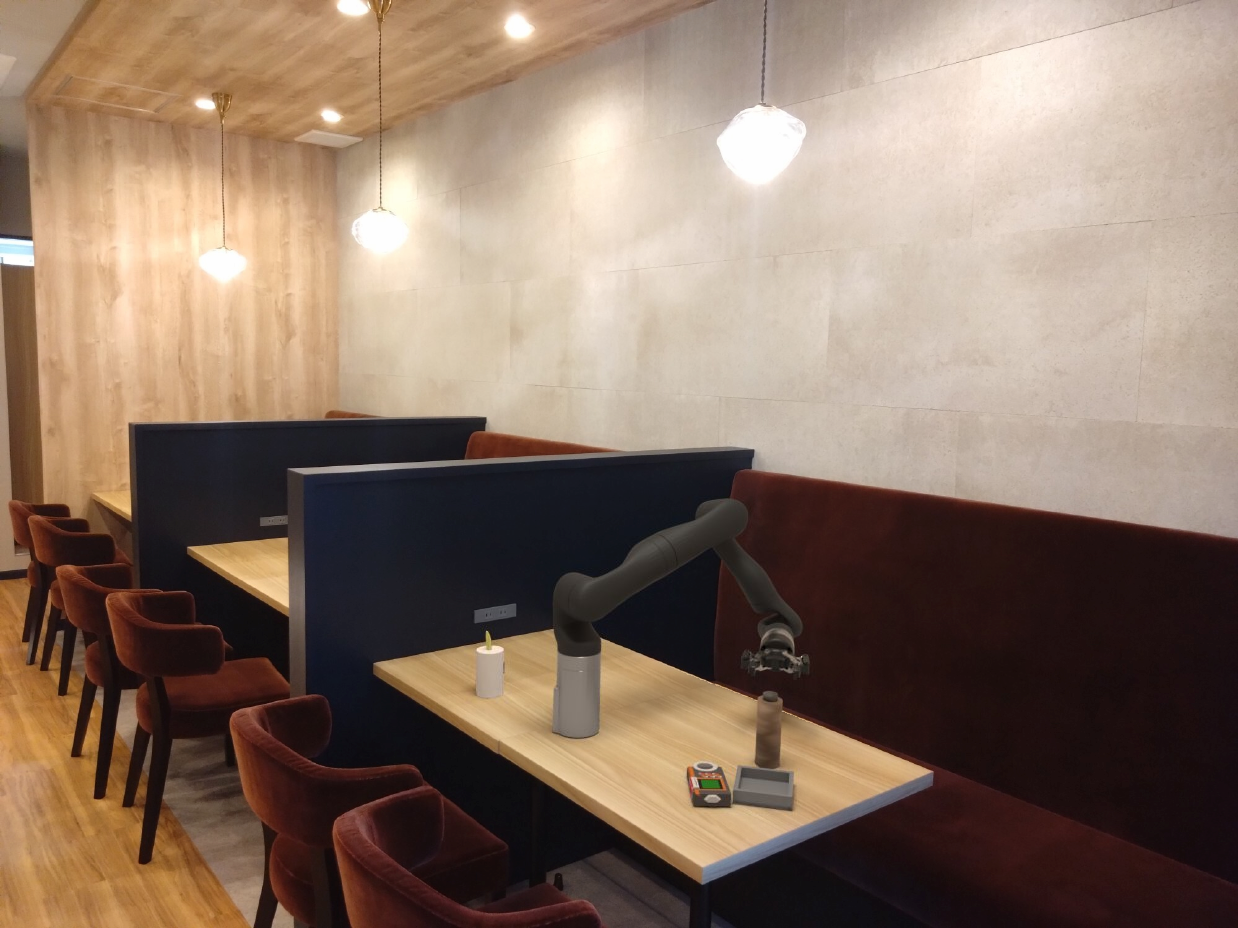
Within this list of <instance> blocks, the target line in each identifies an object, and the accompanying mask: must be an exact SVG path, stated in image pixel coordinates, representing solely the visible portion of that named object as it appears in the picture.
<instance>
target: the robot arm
mask: <svg viewBox="0 0 1238 928" xmlns="http://www.w3.org/2000/svg"><path fill="white" fill-rule="evenodd" d="M694 517H695V519H694V520H692V521H689V522H685V523H682V524H679V525H674V526H671V527H668V528H666V529H663V530H660V531H658V532H655V533H654V534H652V535H650V536H648V537H646V538H645V539H643V540H641V541H640V542H637V543H636V544H635V545H634V546H633V547H632V548H631V550H629V552H628V554H627V556H626V557H625V559H624V561H623V563H621V564H620V565H619V566H618V567H616V568H615V569H612V570H611V571H609V572H608V573H605V574H603V575H600V576H598V577H592V576H588V575H586V574H582V573H579V572H568V573H565V574H564V575H562V576H561V577H560V578H559V579H558V581H557V583H556V585H555V587H554V591H553V596H552V597H553V598H552V619H553V620H552V621H553V624H552V625H553V635H554V638H555V642H556V645H557V647H556V649H557V651H556V685H555V686H554V687H553V698H552V699H553V700H552V701H553V704H552V705H553V709H552V713H553V714H552V732H553V733H557V734H559V735H561V736H564V737H568V738H578V739H580V738H588V737H591V736H594V735H597V733H599V731H600V721H601V719H600V716H601V677H602V676H601V673H602V672H601V670H602V669H601V667H602V663H601V662H602V638H601V637H600V635H599V634H598V632H597V631H596V630H595V628H594V627H593V625H592V623H594V622H597V621H598V620H601V619H603V618H604V617H606V616H607V615H608V614H609V613H611V612H612V611H613V610H615V609H616V608H618V606H620V605H621V604H623V602H625V601H627V599H630V598H631V597H632V596H635V594H637V593H639V592H640V591H642V590H644V589H645V588H648V586H650V585H652V584H653V583H655V582H657V581H659V580H661V579H662V578H665V577H667V575H670V574H671V573H673V572H675V571H676V570H677V569H679V568H680V567H682V566H684V565H686V564H687V563H689V562H691V561H692V560H693V559H695V558H696V557H698V556H700V555H702V553H704V552H706V551H707V550H710V549H711V548H712V549H713V550H714V551H715V553H716V555H718V557H719V558H720V559H721V561H722V562H723V563H724V565H725V566H726V568H727V569H728V570H729V571H730V573H731V574H732V576H733V577H734V579H735V581H736V582H737V583H738V586H739V587H740V589H741V590H742V592H743V594H744V595H745V598H746V600H747V602H748V603H749V604H750V607H751V608H752V610H753V611H754V612H755V613H757V614H766V613H773V614H771V615H770V616H767V617H764V618H762V619H761V620H760V621H759V622H758V623H757V632H758V636H759V638H760V639H761V641H760V646H759V651H757V652H756V653H752V651H751V650H750V649H744V651H743V653H742V654H741V657H740V660H741V661H740V663H741V666H740V669H742V670H747V669H748V670H747V671H748V672H747V673H748V674H750V676H751V677H755V676H756V672H757V671H759V672H761V671H765V670H769V671H771V672H783V671H784V672H786V673H788V674H792V673H793V676H792V679H793V680H794V681H797V679H800V678H801V674H803V675H807V676H808V675H810V665H811V664H810V663H811V662H810V657H809V655H808V654H806V653H804V654H802V655H801V656H799V657H797V656H796V655H795V643H794V639H795V638H797V637H799V636H800V635H801V634H802V633H803V627H804V626H803V622H802V620H801V618H800V616H799V615H798V614H797V613H796V611H795V610H794V609H793V608H791V606H790V605H788V604H787V603H786V601H785V600H784V599H783V598H782V597H781V596H780V594H779V593H778V592H777V591H778V590H777V589H776V587H775V585H774V584H773V582H772V580H771V579H770V577H769V575H768V574H767V573H766V571H765V569H763V567H762V566H761V565H760V564H759V563H758V562H756V560H755V559H753V557H752V556H750V555H749V554H748V553H747V552H746V551H745V550H744V549H743V548H742V547H741V545H740V544H739V542H738V541H737V540H736V537H738V536H740V534H742V533H743V531H744V530H745V529H746V527H747V525H748V520H749V512H748V509H747V507H746V506H745V504H744V503H742V502H741V501H739V500H737V499H735V498H718V499H711V500H707V501H704V502H702V503H701V504H700V505H699V506H698V507H697V509H696V512H695V516H694Z"/></svg>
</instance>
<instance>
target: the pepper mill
mask: <svg viewBox="0 0 1238 928" xmlns="http://www.w3.org/2000/svg"><path fill="white" fill-rule="evenodd" d="M756 704H757V705H756V706H757V707H756V708H757V709H756V727H755V728H756V731H755V734H756V735H755V750H754V751H755V752H754V764H755V765H756V767H759V768H767V769H777V768H779V767H780V765H781V746H782V727H783V726H782V724H783V723H782V722H783V704H784V703H783V699H782V698H781V697H779V694H778V692H776V691H773V690H767V691H763V692H762V695H760V696H758V697H757V703H756Z"/></svg>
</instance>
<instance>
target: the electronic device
mask: <svg viewBox="0 0 1238 928" xmlns="http://www.w3.org/2000/svg"><path fill="white" fill-rule="evenodd" d="M686 779H687V783H688V792H689V796H690V800H691V802H692V804H693V806H694V807H732V792H731V789H730V787H729V785H728V782H727V779H726V775H725V773H724V770H723V768H722V766H718V765H717V764H716V763H714V762H710V761H705V760H704V761H696V762H694V763H693V765H692V766H687V767H686Z"/></svg>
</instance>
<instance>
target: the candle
mask: <svg viewBox="0 0 1238 928" xmlns="http://www.w3.org/2000/svg"><path fill="white" fill-rule="evenodd" d="M504 649H505V648H503V646H498V645H493V644H492V638H491V635H490V632H489V631H488V630H486V631H485V645H483V646H480V647H477V648H476V655H475V658H476V659H475V660H476V661H475V663H476V665H475V671H476V672H475V679H476V680H475V682H476V683H475V694H476V696H477V697H478V698H482V699H496V698H499V697H501V696H503V695H504V679H505V678H504V675H505V668H506V667H505V665H506V664H505V659H504V657H505V650H504Z"/></svg>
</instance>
